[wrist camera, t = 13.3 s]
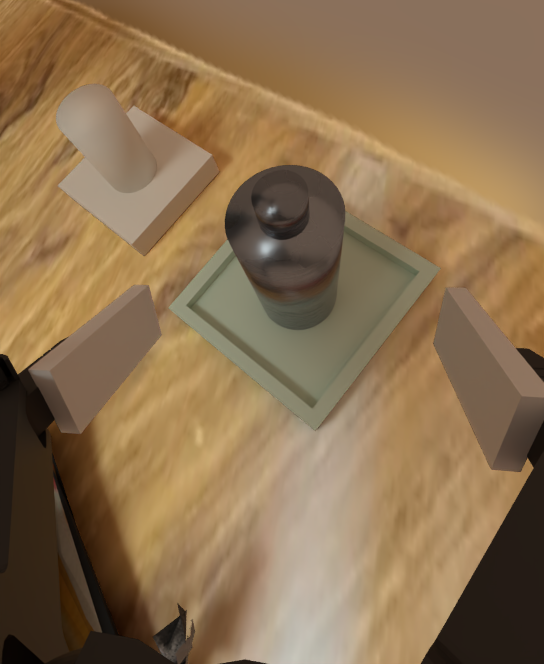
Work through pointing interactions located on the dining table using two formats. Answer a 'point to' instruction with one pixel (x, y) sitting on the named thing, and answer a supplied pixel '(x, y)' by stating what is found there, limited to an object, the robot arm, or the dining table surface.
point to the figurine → (96, 590)
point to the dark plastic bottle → (289, 242)
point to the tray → (319, 341)
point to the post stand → (130, 166)
